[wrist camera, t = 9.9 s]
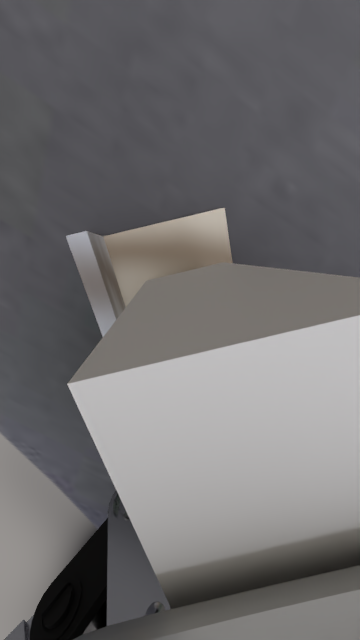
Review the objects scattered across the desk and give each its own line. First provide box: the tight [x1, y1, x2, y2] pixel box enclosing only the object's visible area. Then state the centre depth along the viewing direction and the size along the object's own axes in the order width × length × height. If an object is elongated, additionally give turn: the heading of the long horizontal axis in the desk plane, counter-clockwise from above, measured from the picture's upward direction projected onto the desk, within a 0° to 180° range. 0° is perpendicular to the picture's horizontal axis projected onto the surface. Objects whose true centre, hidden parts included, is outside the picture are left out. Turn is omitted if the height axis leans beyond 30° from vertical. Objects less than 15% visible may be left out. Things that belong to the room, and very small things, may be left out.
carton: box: [67, 262, 360, 609], centre depth 9 cm, size 5×13×10 cm, turn 13°
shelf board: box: [66, 208, 232, 337], centre depth 17 cm, size 20×10×5 cm, turn 13°
